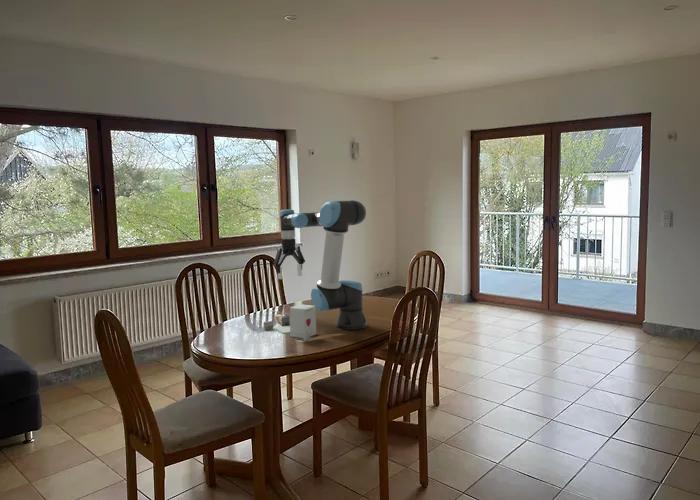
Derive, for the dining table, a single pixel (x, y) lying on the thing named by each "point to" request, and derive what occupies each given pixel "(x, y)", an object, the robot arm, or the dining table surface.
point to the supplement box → (303, 322)
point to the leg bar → (281, 320)
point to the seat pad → (283, 329)
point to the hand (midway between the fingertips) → (290, 277)
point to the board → (268, 325)
